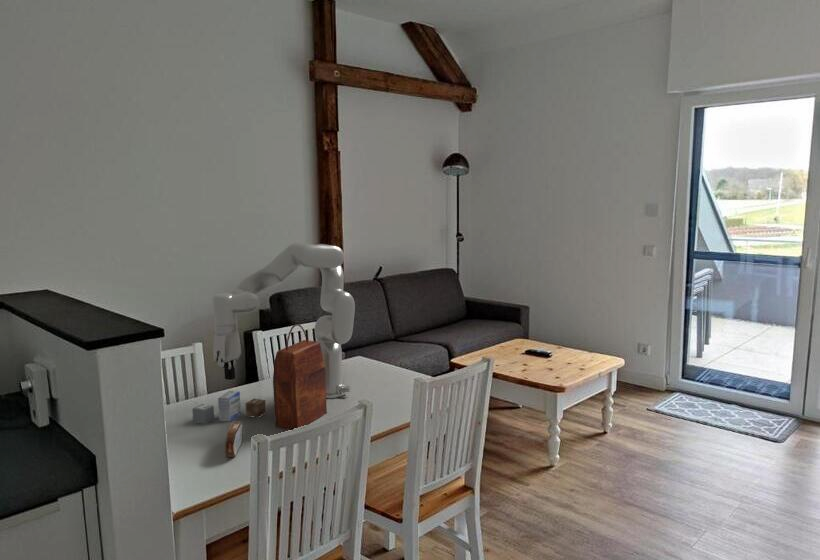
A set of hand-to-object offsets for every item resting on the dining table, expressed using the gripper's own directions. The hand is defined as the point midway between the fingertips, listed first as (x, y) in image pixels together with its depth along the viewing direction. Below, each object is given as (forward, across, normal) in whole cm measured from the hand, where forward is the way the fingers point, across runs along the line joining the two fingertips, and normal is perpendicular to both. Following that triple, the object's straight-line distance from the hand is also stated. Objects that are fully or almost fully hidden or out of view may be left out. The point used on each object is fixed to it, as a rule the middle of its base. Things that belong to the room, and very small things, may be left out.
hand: (230, 378), depth 209 cm
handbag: (+15, -6, +24) cm, 29 cm away
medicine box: (+14, +1, -1) cm, 14 cm away
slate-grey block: (+14, +6, -8) cm, 17 cm away
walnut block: (+14, -5, +6) cm, 17 cm away
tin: (+14, +24, +18) cm, 33 cm away
